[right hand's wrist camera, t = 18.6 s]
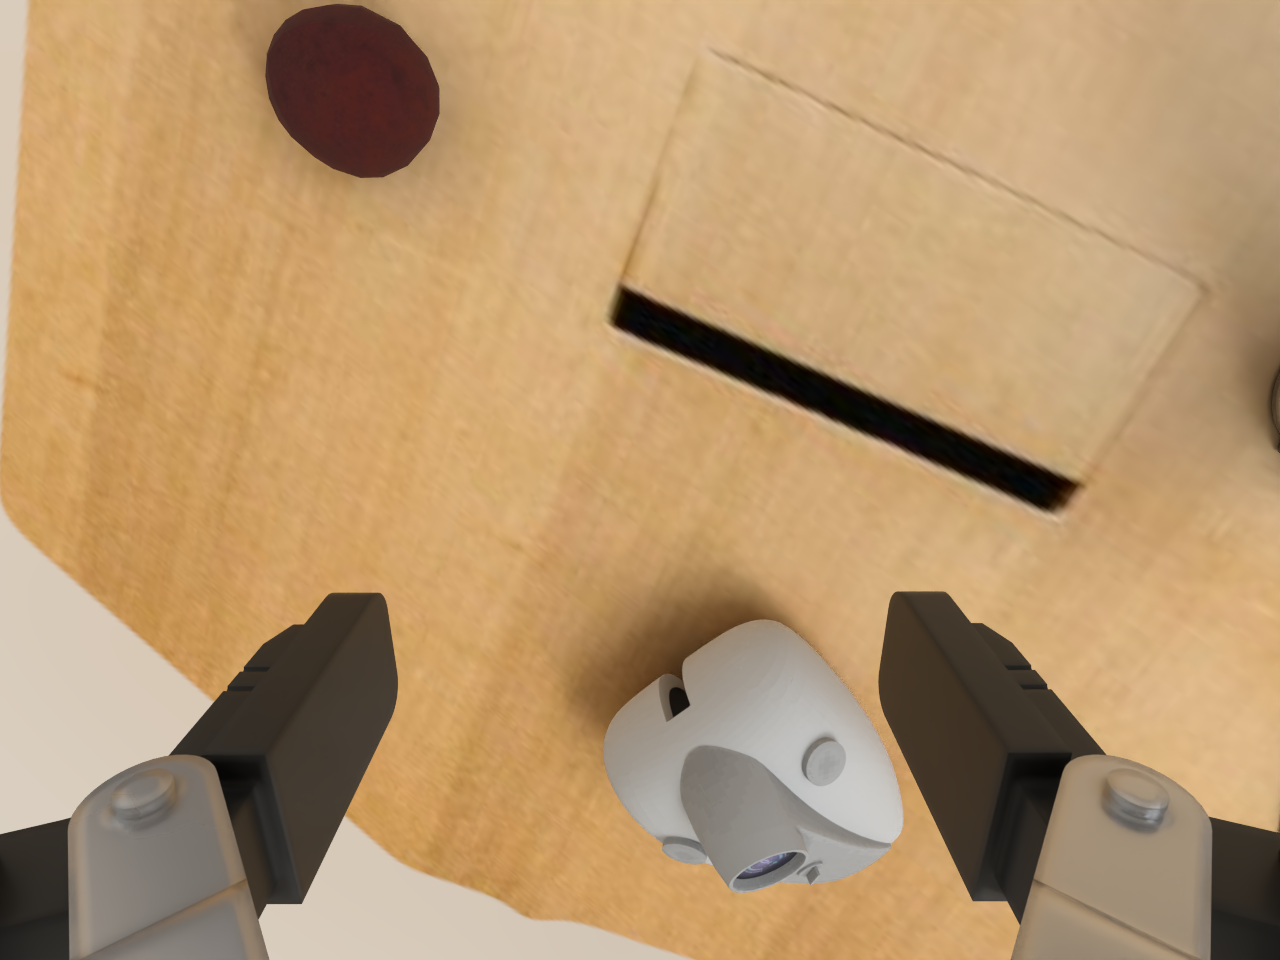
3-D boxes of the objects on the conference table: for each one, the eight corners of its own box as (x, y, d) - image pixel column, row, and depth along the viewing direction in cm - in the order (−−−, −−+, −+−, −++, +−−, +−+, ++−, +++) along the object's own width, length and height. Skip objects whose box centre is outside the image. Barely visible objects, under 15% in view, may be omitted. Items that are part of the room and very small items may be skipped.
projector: (606, 841, 57) (595, 1042, 43) (605, 592, 49) (592, 744, 35) (882, 844, 57) (958, 1046, 43) (928, 596, 49) (1040, 749, 35)
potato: (290, 34, 37) (214, -2, 30) (438, 13, 36) (393, -28, 30) (329, 187, 39) (267, 185, 33) (467, 170, 39) (433, 163, 32)
